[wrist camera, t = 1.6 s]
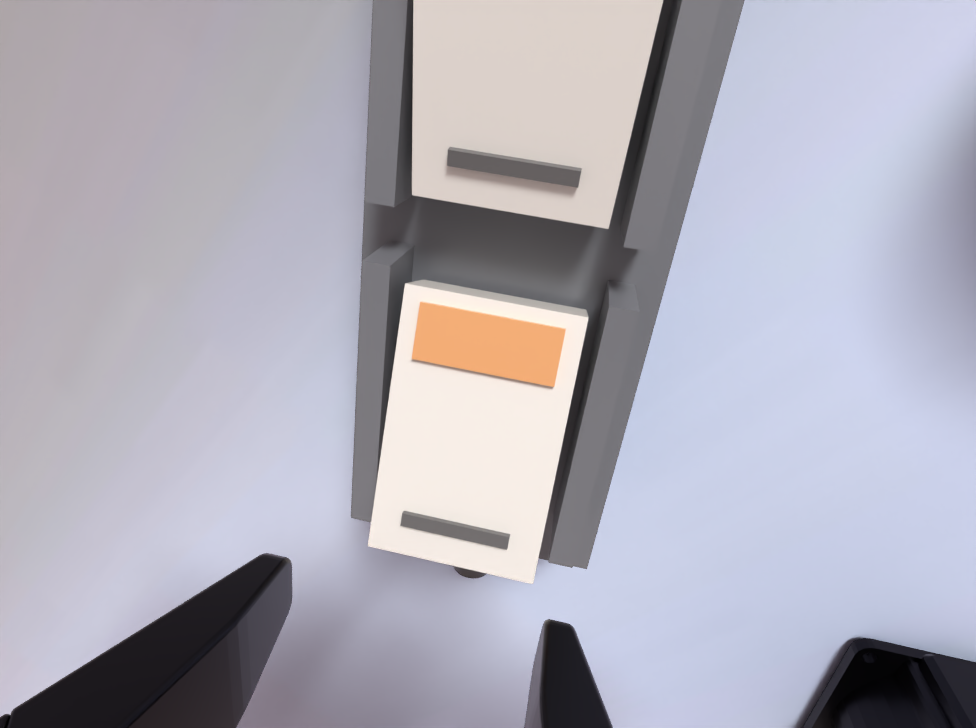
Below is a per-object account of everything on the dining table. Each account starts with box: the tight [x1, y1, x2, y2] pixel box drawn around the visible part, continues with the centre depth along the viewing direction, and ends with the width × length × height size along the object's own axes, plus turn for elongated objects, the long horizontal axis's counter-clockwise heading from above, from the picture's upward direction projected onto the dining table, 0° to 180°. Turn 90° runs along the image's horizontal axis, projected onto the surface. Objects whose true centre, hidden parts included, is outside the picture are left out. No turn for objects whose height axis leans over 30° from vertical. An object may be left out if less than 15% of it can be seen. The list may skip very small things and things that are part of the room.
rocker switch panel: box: [351, 0, 744, 578], centre depth 14 cm, size 30×7×6 cm, turn 172°
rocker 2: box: [412, 0, 663, 229], centre depth 10 cm, size 6×4×2 cm, turn 173°
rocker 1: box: [368, 279, 589, 584], centre depth 14 cm, size 6×4×2 cm, turn 172°
